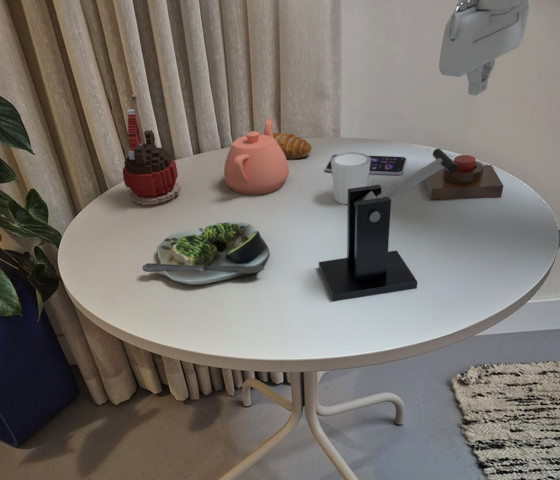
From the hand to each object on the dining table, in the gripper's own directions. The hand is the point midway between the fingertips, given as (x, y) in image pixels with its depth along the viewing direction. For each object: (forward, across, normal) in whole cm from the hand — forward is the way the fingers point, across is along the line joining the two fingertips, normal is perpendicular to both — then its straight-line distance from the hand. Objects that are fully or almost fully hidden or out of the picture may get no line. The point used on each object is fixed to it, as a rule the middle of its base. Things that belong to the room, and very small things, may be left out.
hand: (477, 92), depth 92 cm
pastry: (+16, -4, +39) cm, 42 cm away
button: (+12, 0, +1) cm, 12 cm away
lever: (+4, -30, -7) cm, 31 cm away
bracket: (+16, -34, -3) cm, 38 cm away
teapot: (+16, -18, +34) cm, 41 cm away
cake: (+15, -34, +46) cm, 59 cm away
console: (+16, 0, +1) cm, 16 cm away
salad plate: (+16, -43, +19) cm, 50 cm away
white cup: (+16, -14, +15) cm, 26 cm away
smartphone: (+16, -1, +21) cm, 26 cm away
